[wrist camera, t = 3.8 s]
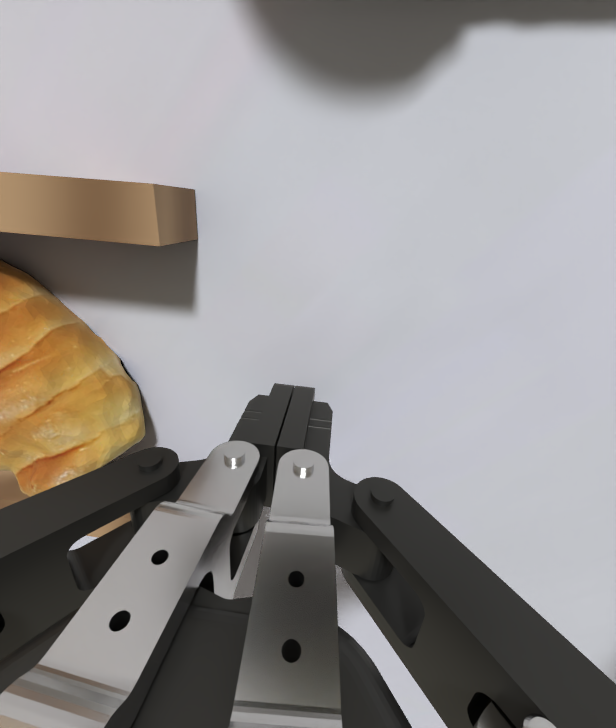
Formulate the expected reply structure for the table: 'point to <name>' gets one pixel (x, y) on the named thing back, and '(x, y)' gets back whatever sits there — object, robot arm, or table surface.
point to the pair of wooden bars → (92, 232)
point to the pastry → (58, 390)
